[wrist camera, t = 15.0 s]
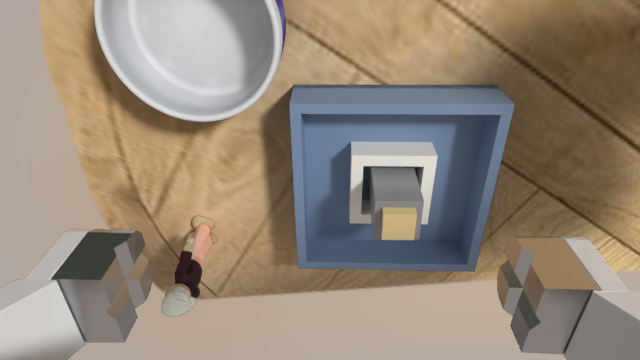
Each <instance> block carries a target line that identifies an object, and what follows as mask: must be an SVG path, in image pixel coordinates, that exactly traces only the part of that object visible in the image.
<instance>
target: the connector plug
mask: <svg viewBox="0 0 640 360" xmlns="http://www.w3.org/2000/svg"><path fill="white" fill-rule="evenodd" d="M368 195H369V204H370V214H371V223H372V233H373V239H382V240H414V239H419V237H420V229H421V221H422V213H423V206H424V199H423V196H422V193H421V189H420V186H419V183H418V179H417V176H416V172H415V169H414V167H410V166H370V167H369V189H368Z"/></svg>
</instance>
